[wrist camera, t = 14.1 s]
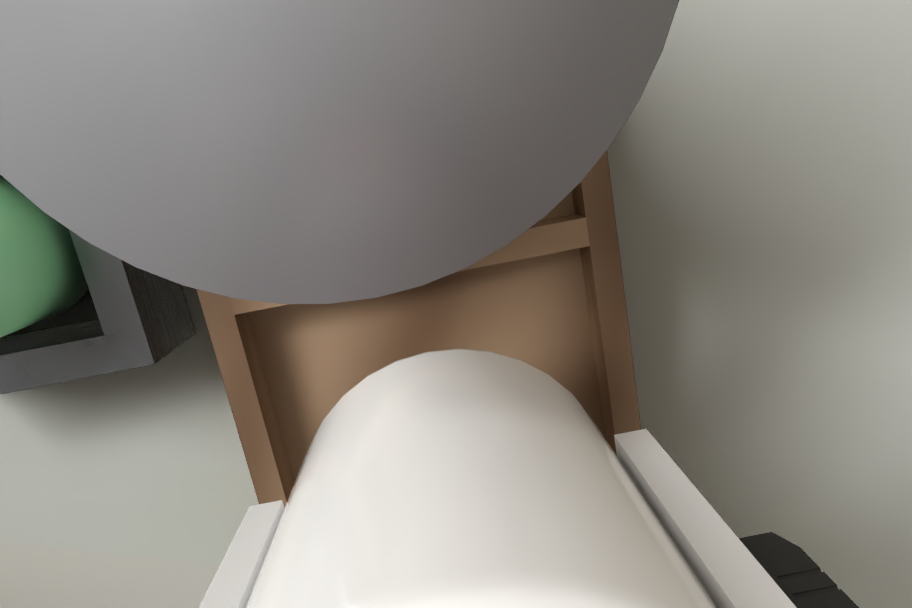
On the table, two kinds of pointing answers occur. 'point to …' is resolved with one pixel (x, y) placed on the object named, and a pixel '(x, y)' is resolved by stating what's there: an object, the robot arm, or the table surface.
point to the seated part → (313, 130)
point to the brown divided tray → (437, 334)
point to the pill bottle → (468, 501)
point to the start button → (34, 263)
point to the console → (101, 327)
